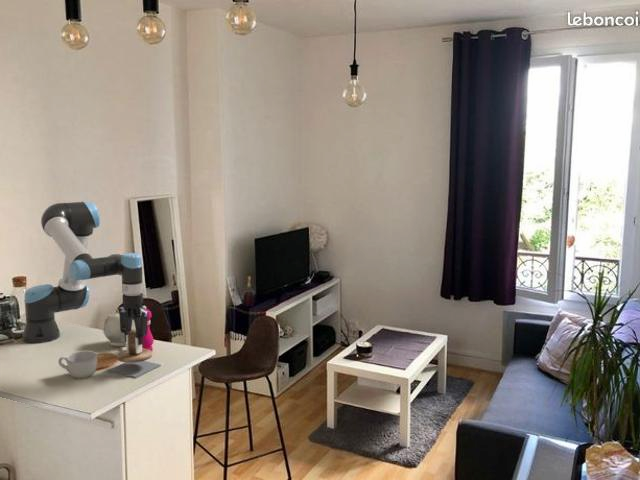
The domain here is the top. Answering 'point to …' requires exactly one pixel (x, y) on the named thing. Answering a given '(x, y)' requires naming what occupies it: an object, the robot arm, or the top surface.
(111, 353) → the top surface
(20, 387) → the top surface
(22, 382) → the top surface
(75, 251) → the robot arm
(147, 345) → the pepper mill
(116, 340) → the teapot
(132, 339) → the lid
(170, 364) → the top surface
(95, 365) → the teacup
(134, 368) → the mat
